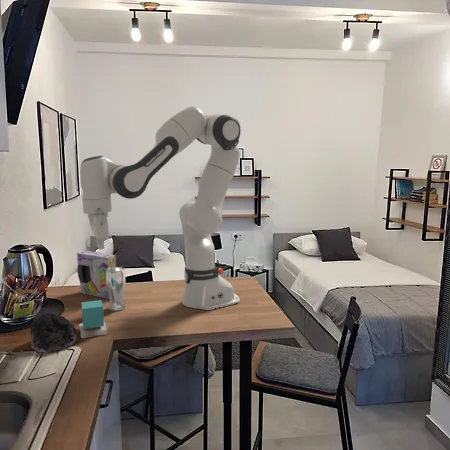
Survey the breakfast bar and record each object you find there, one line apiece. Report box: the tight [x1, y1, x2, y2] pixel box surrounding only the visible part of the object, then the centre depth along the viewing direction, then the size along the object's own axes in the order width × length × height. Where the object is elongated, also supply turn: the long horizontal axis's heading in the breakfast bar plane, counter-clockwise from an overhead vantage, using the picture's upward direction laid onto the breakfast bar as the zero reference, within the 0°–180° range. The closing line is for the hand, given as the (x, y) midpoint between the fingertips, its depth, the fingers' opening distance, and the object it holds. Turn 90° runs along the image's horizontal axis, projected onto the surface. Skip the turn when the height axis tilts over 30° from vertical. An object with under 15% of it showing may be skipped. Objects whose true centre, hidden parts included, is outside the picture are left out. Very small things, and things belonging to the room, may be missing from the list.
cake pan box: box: [76, 250, 117, 300], centre depth 166 cm, size 19×5×18 cm, turn 58°
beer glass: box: [106, 266, 126, 312], centre depth 152 cm, size 7×7×15 cm
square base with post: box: [79, 320, 108, 339], centre depth 132 cm, size 8×8×8 cm
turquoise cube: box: [80, 299, 105, 329], centre depth 132 cm, size 6×6×7 cm
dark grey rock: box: [29, 312, 78, 354], centre depth 124 cm, size 13×14×10 cm
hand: (100, 248), depth 135 cm, fingers closed
